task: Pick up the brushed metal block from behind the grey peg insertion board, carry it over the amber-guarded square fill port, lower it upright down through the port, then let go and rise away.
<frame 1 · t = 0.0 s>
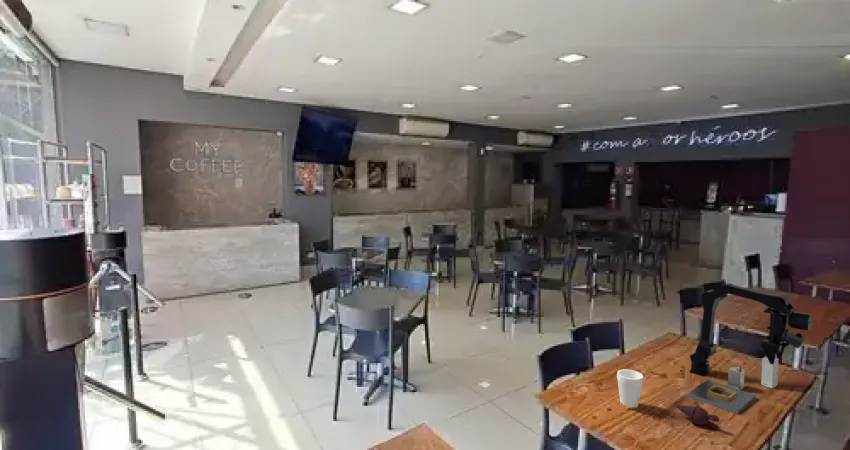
hand: (775, 361, 182), 15 cm above the table, tool pointing down, fingers open, 9 cm apart
grey peg insertion board: (721, 397, 182), on the table
skincare box: (769, 385, 193), on the table
foam cup: (629, 405, 177), on the table
brushed metal block: (735, 387, 191), on the table
icecream: (696, 423, 164), on the table
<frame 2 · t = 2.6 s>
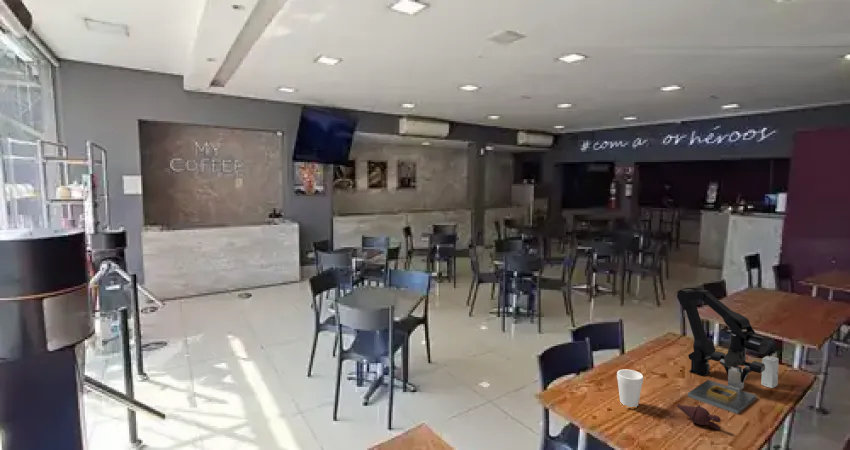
hand: (736, 380, 191), 3 cm above the table, tool pointing down, fingers closed on brushed metal block, 4 cm apart
brushed metal block: (735, 387, 191), on the table, touching gripper
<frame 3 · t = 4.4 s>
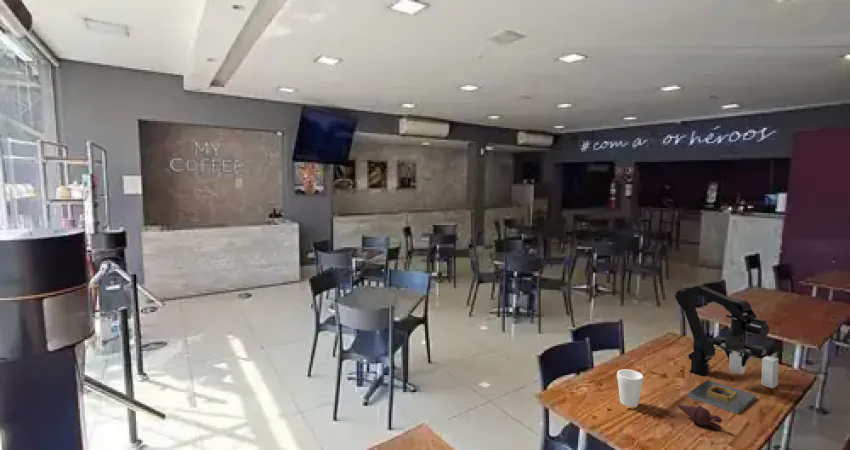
hand: (737, 364, 190), 10 cm above the table, tool pointing down, fingers closed on brushed metal block, 4 cm apart
brushed metal block: (736, 371, 190), point 7 cm above the table, touching gripper
everything else where it was.
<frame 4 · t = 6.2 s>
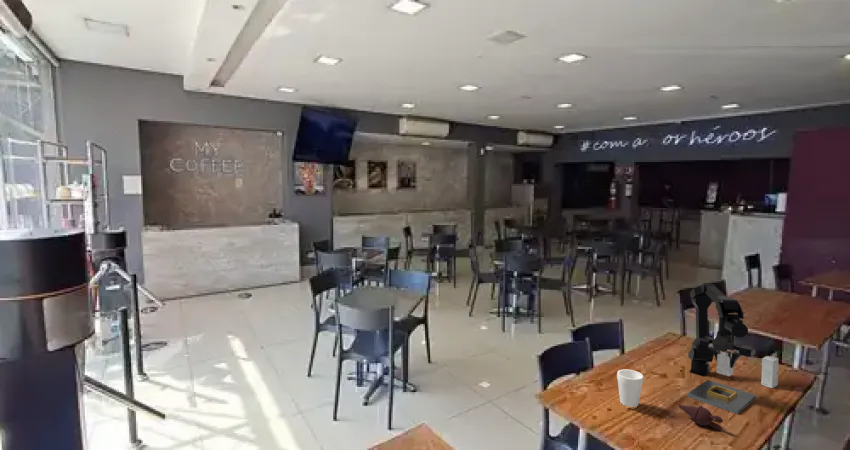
hand: (725, 366, 182), 13 cm above the table, tool pointing down, fingers closed on brushed metal block, 4 cm apart
brushed metal block: (724, 373, 182), point 10 cm above the table, touching gripper
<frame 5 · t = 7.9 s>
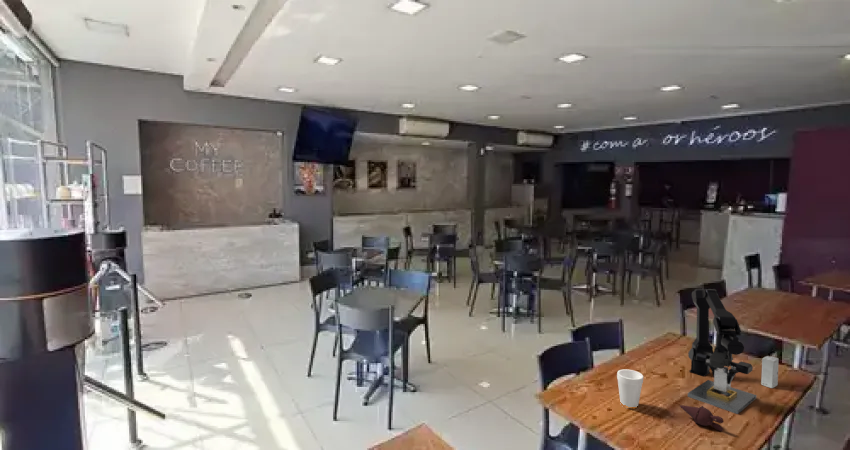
hand: (722, 381, 182), 7 cm above the table, tool pointing down, fingers closed on brushed metal block, 4 cm apart
brushed metal block: (722, 388, 182), point 4 cm above the table, touching gripper
when the fingers open (4 cm above the table, at t = 9.6 s): brushed metal block drops 1 cm, resting in grey peg insertion board.
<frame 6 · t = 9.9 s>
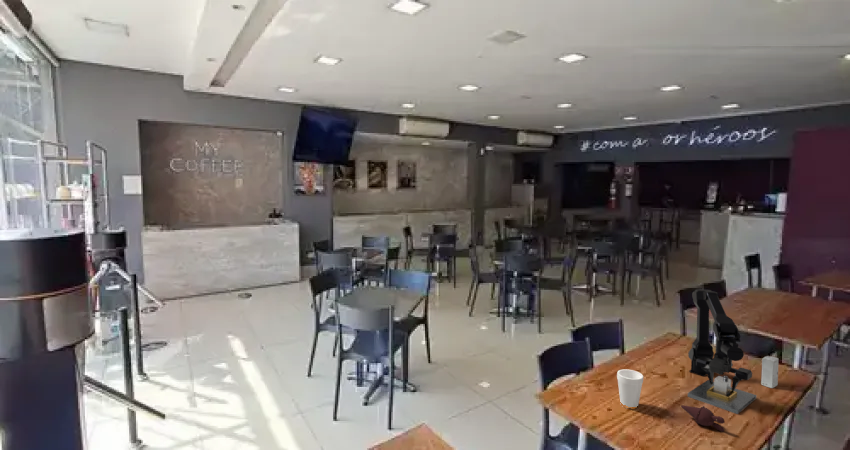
hand: (722, 387, 182), 4 cm above the table, tool pointing down, fingers open, 7 cm apart
brushed metal block: (721, 397, 182), resting in grey peg insertion board
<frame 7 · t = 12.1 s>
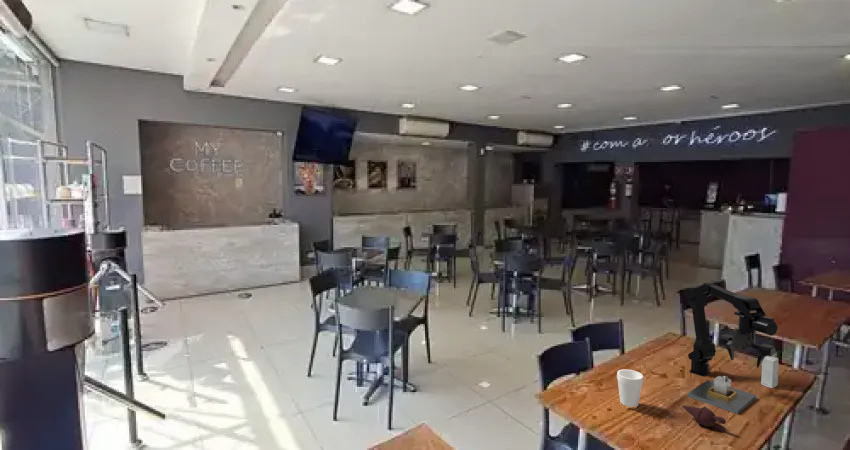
hand: (744, 363, 184), 13 cm above the table, tool pointing down, fingers open, 9 cm apart
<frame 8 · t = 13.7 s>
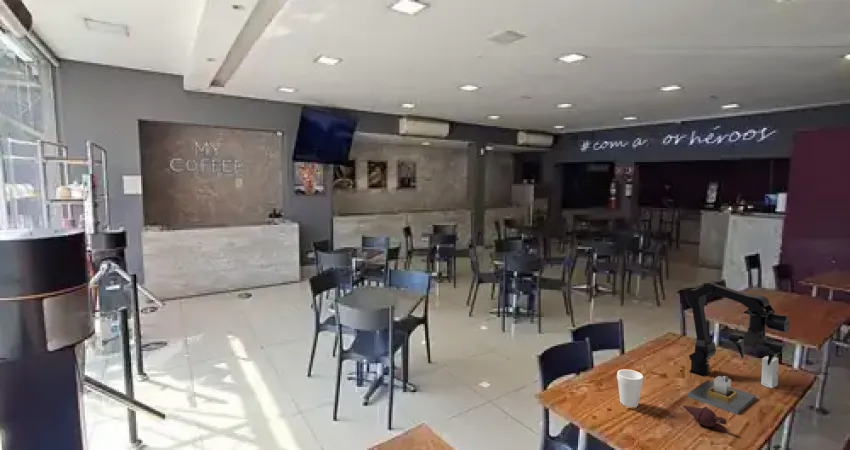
hand: (755, 361, 186), 13 cm above the table, tool pointing down, fingers open, 9 cm apart
at the end: brushed metal block 0.1 cm off-centre on the grey peg insertion board, point 0.0 cm above the grey peg insertion board's base; brushed metal block tilted 0°; the gripper is holding nothing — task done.
